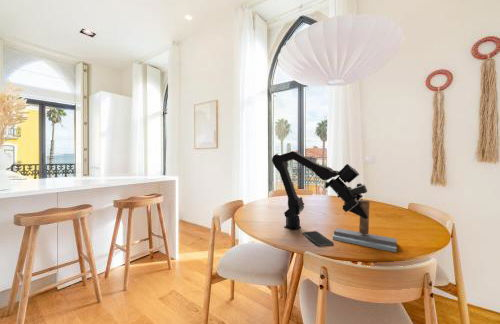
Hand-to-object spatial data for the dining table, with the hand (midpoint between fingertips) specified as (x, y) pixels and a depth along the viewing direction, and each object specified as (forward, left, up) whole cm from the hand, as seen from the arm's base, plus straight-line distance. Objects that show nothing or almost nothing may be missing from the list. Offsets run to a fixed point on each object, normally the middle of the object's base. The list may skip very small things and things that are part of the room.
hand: (367, 217), depth 97 cm
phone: (-16, -13, -12) cm, 24 cm away
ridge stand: (-1, 0, -11) cm, 11 cm away
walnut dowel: (-1, 0, -7) cm, 7 cm away
